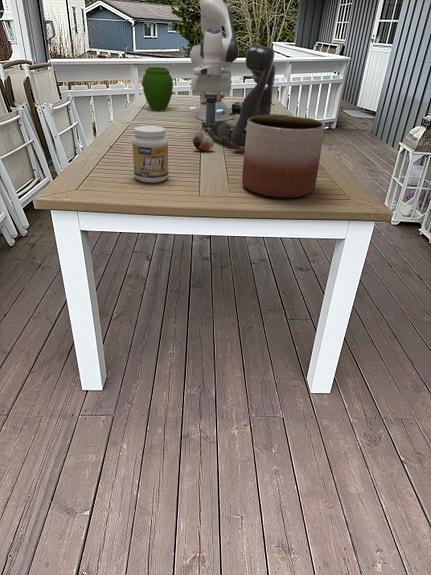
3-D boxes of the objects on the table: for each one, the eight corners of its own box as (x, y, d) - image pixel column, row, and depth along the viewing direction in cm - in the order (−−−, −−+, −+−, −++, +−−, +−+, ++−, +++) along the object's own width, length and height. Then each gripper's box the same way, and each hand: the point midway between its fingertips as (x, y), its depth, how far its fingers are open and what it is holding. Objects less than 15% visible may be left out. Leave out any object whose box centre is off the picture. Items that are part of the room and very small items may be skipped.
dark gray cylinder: (215, 137, 208) (217, 98, 199) (212, 138, 205) (213, 99, 195) (207, 136, 210) (208, 97, 200) (203, 137, 206) (204, 98, 196)
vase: (143, 107, 275) (142, 66, 262) (173, 108, 277) (172, 67, 264) (142, 112, 259) (140, 68, 246) (173, 113, 261) (173, 70, 248)
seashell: (212, 149, 186) (213, 131, 181) (214, 152, 181) (215, 133, 177) (191, 149, 184) (192, 130, 180) (193, 152, 180) (193, 133, 175)
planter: (325, 200, 135) (339, 130, 123) (251, 201, 131) (257, 128, 119) (299, 176, 156) (309, 114, 144) (234, 177, 152) (239, 113, 140)
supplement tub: (139, 184, 140) (136, 133, 131) (130, 174, 149) (127, 125, 140) (173, 181, 144) (172, 131, 135) (162, 172, 153) (161, 124, 144)
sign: (232, 108, 269) (231, 101, 294) (232, 113, 270) (230, 106, 296) (261, 109, 269) (257, 102, 295) (260, 114, 271) (257, 107, 296)
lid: (218, 101, 200) (218, 97, 199) (214, 103, 195) (214, 98, 194) (208, 100, 201) (208, 96, 200) (203, 101, 197) (203, 97, 196)
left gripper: (228, 69, 198) (226, 100, 205) (189, 69, 189) (189, 101, 196) (234, 70, 193) (232, 102, 200) (195, 70, 184) (195, 103, 192)
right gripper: (237, 121, 195) (220, 115, 207) (211, 123, 188) (195, 116, 201) (236, 138, 199) (219, 130, 211) (210, 140, 192) (194, 132, 205)
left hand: (210, 102), depth 198 cm, fingers closed on lid, 5 cm apart
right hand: (207, 123), depth 206 cm, fingers closed on dark gray cylinder, 4 cm apart
